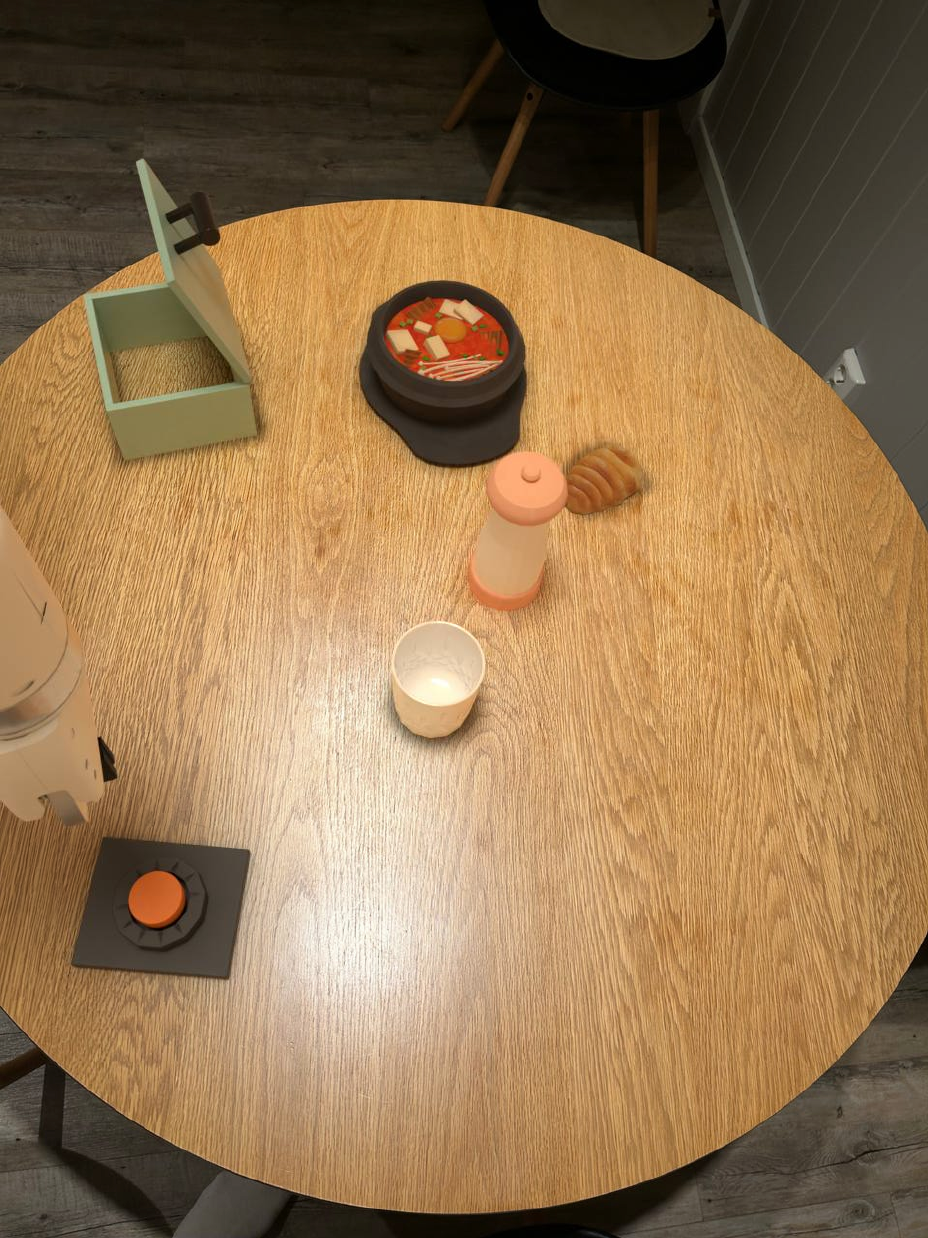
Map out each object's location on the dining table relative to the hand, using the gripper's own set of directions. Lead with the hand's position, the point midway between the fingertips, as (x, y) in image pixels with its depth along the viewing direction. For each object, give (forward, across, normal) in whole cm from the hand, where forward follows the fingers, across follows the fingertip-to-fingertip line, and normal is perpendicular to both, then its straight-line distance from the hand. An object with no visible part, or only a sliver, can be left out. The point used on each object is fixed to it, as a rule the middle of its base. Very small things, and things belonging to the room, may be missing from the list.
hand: (91, 773), depth 62 cm
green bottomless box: (+20, -47, +11) cm, 52 cm away
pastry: (+19, -25, +51) cm, 60 cm away
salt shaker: (+19, -16, +37) cm, 45 cm away
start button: (+15, +6, +1) cm, 16 cm away
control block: (+19, +6, +1) cm, 20 cm away
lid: (+4, -47, +15) cm, 50 cm away
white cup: (+19, -5, +27) cm, 33 cm away
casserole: (+19, -42, +39) cm, 61 cm away
